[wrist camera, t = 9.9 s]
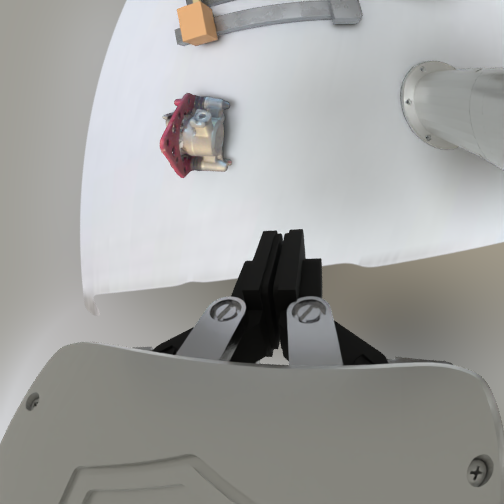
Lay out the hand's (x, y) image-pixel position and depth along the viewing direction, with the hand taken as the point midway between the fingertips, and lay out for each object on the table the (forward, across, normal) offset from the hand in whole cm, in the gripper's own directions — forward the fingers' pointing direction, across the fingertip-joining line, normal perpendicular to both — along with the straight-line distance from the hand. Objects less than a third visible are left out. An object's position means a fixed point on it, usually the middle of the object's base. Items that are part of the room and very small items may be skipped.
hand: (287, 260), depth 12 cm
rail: (+27, +2, -19) cm, 33 cm away
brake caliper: (+27, +14, -4) cm, 31 cm away
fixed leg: (+26, -8, -23) cm, 35 cm away
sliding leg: (+26, +10, -23) cm, 36 cm away
